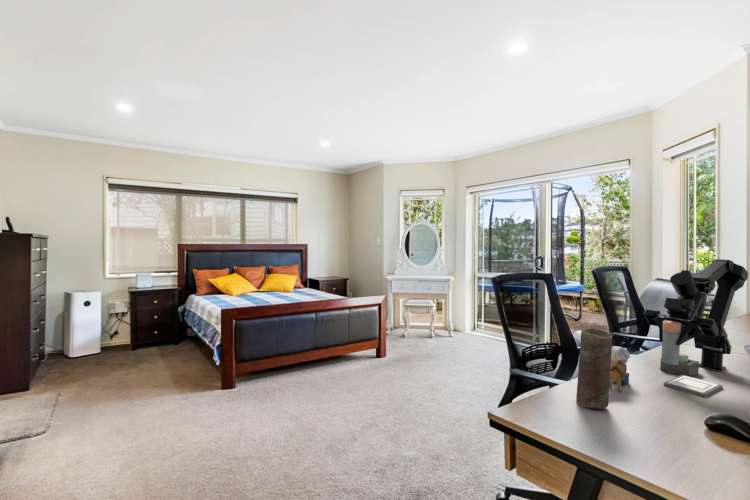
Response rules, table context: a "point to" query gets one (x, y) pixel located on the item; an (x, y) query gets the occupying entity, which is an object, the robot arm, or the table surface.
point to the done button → (683, 358)
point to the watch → (623, 355)
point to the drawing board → (693, 385)
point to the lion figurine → (617, 373)
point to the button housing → (682, 368)
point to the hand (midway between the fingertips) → (668, 342)
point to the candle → (594, 368)
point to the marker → (670, 342)
